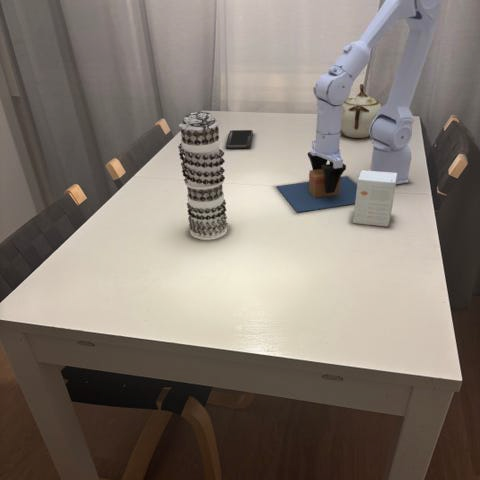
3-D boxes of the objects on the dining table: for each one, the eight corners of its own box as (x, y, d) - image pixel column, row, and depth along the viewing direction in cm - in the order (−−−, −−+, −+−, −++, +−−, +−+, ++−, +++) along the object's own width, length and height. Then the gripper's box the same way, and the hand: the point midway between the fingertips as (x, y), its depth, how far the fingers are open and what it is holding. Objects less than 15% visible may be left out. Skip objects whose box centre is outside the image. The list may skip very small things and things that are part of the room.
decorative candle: (183, 226, 109) (168, 113, 94) (220, 218, 112) (212, 106, 96) (195, 244, 103) (182, 125, 87) (235, 234, 105) (229, 117, 90)
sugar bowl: (337, 124, 165) (341, 76, 155) (381, 126, 161) (388, 78, 152) (330, 142, 150) (334, 91, 141) (378, 145, 147) (385, 93, 137)
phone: (225, 145, 148) (230, 130, 160) (225, 148, 149) (230, 133, 161) (250, 145, 148) (253, 129, 159) (250, 148, 148) (253, 133, 160)
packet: (332, 187, 123) (333, 166, 119) (339, 194, 119) (341, 173, 116) (308, 191, 122) (309, 170, 118) (314, 198, 118) (316, 177, 115)
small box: (390, 216, 110) (398, 172, 103) (388, 227, 105) (396, 182, 99) (355, 212, 112) (361, 169, 105) (352, 223, 108) (357, 178, 101)
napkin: (346, 177, 128) (346, 176, 128) (374, 201, 116) (374, 200, 116) (276, 187, 125) (276, 186, 125) (297, 213, 113) (297, 211, 113)
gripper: (301, 124, 116) (299, 177, 124) (324, 142, 105) (320, 200, 113) (328, 120, 117) (324, 174, 125) (353, 138, 106) (347, 196, 114)
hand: (324, 186), depth 119 cm, fingers open, 7 cm apart
